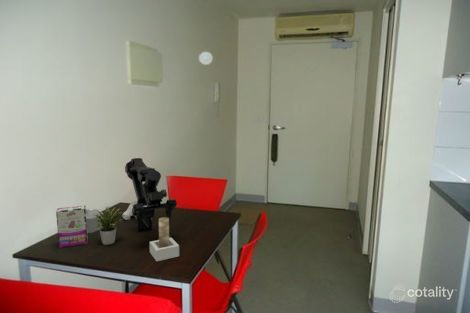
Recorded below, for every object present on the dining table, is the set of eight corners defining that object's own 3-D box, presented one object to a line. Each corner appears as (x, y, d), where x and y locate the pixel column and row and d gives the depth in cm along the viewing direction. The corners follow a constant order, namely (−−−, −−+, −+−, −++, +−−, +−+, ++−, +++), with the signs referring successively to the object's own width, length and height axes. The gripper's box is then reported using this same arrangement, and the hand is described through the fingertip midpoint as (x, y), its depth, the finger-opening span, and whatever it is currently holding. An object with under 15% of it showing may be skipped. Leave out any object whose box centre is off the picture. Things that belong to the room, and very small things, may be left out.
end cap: (149, 252, 132) (149, 241, 132) (171, 247, 137) (171, 237, 136) (156, 261, 124) (156, 250, 124) (179, 256, 129) (179, 245, 128)
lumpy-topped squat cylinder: (89, 233, 150) (88, 216, 149) (71, 228, 156) (70, 211, 155) (107, 226, 159) (106, 210, 158) (89, 222, 165) (88, 206, 164)
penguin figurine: (143, 200, 175) (126, 208, 165) (144, 214, 177) (128, 223, 167) (135, 198, 178) (118, 206, 168) (136, 212, 180) (119, 221, 170)
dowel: (158, 253, 129) (157, 220, 127) (160, 249, 133) (160, 217, 131) (168, 254, 129) (167, 220, 127) (170, 249, 133) (169, 217, 131)
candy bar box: (87, 240, 143) (86, 204, 141) (87, 244, 139) (85, 208, 136) (59, 243, 139) (57, 207, 136) (58, 248, 134) (55, 211, 132)
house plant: (108, 252, 131) (106, 214, 129) (82, 247, 136) (80, 210, 133) (131, 239, 144) (130, 205, 142) (106, 235, 149) (105, 201, 147)
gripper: (132, 185, 132) (139, 219, 124) (175, 181, 141) (184, 212, 134) (128, 199, 140) (135, 231, 132) (169, 194, 149) (178, 224, 142)
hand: (159, 224), depth 135 cm, fingers open, 9 cm apart
